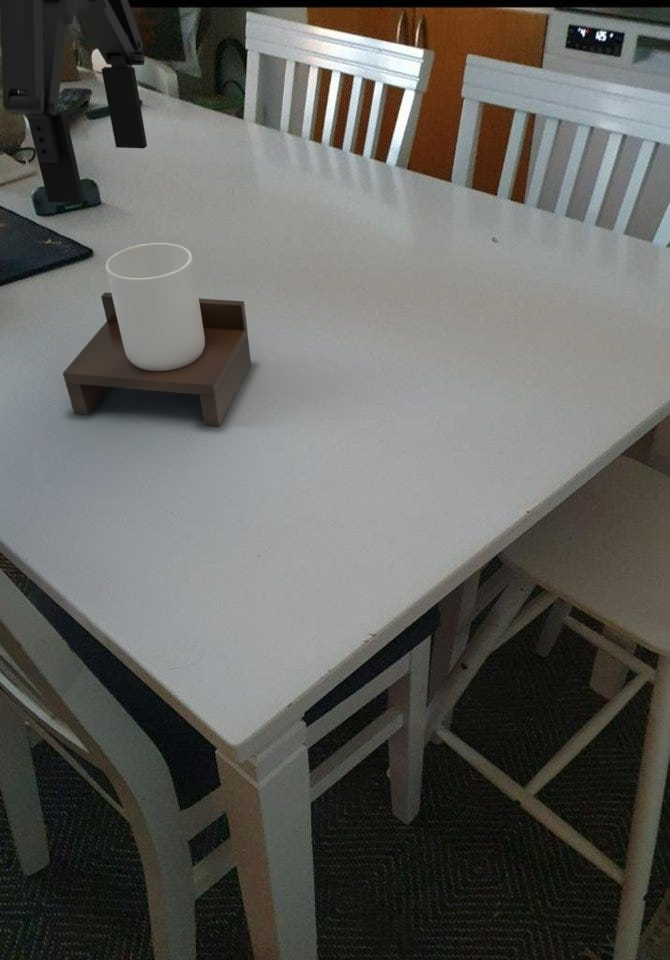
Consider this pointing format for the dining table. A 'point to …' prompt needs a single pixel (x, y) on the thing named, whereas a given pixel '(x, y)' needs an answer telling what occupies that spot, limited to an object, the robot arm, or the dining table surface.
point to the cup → (157, 305)
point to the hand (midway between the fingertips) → (101, 172)
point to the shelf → (206, 376)
